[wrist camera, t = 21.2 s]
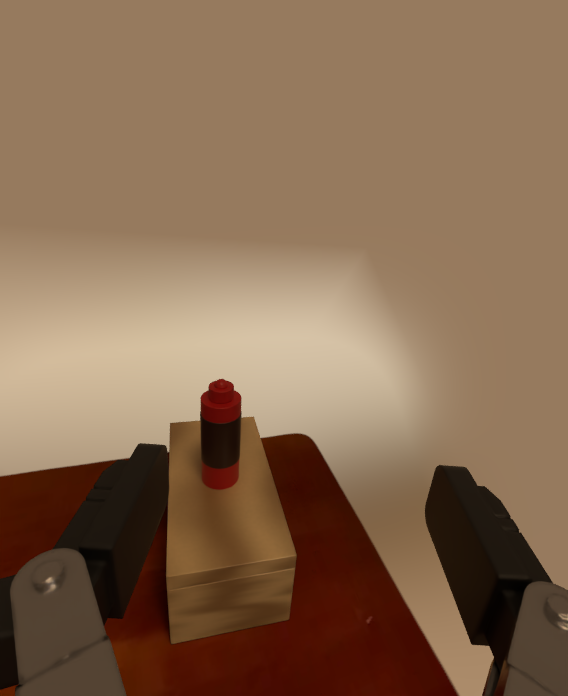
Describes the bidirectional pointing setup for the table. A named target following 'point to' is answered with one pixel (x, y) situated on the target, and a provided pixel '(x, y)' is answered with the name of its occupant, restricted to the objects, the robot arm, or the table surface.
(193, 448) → the wooden block
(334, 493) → the table surface
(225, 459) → the red water bottle
